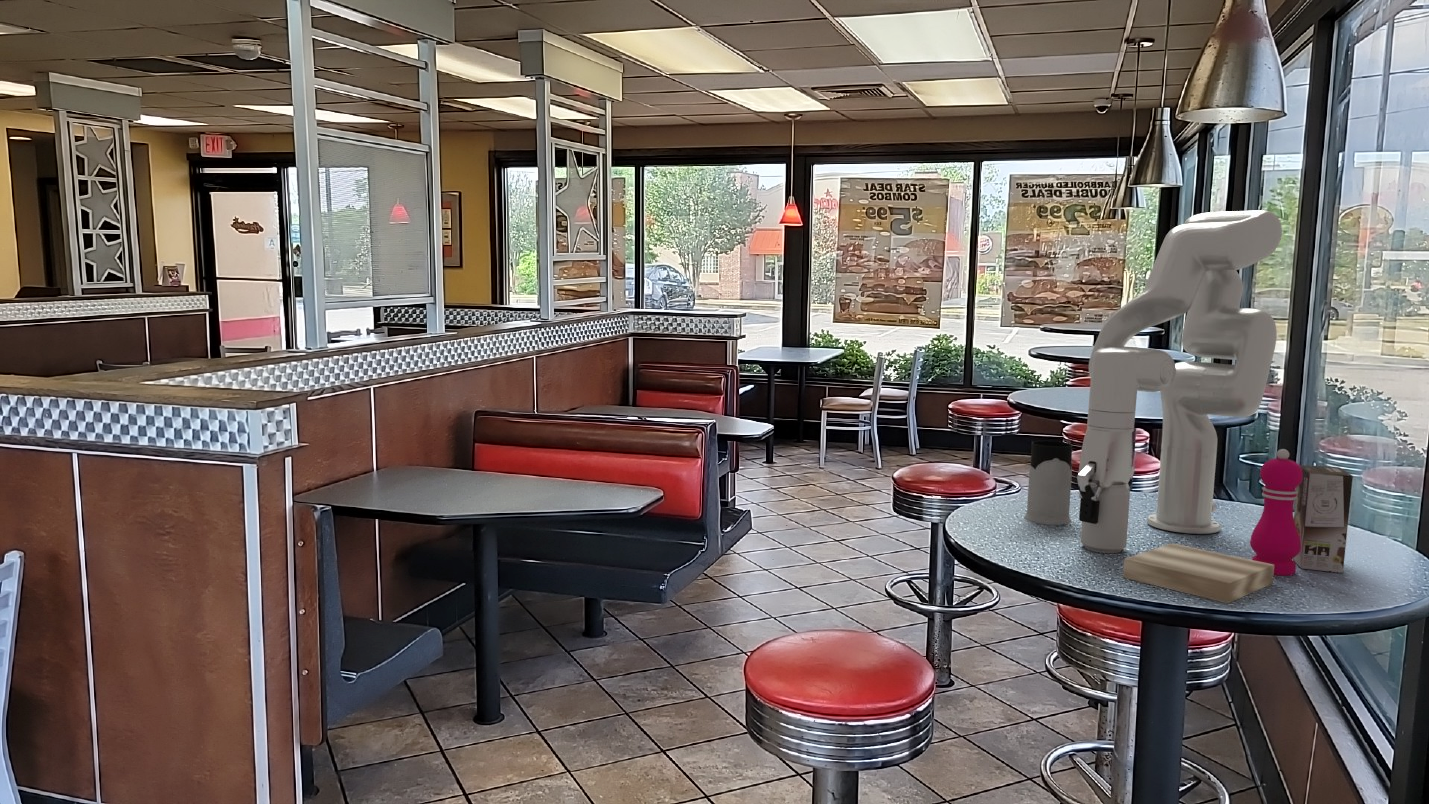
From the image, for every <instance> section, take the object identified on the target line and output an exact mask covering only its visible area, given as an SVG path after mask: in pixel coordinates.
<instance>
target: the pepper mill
mask: <svg viewBox="0 0 1429 804" xmlns="http://www.w3.org/2000/svg"><path fill="white" fill-rule="evenodd" d="M1276 456H1277V457H1275V458H1271V459H1268V460H1267V461H1265V462H1264V463H1263V464H1262V465H1261V468H1260V471H1259V477H1260V480H1261V481H1262V483H1263V484H1264V486H1263V487H1262V488H1261V489H1262V493H1261V495H1262V497H1264V505H1263V511H1262V514H1261V516H1260V518H1259V520H1258V521H1257V523H1256V525H1255V527H1254V529H1253V530H1252V532H1251V536H1250V540H1249V546H1250V547H1251V549H1252V550H1253V552H1254V553H1255V555H1253V556H1252V557H1251V560H1254V561H1259V562H1264V563H1269V564H1273V565H1274V575H1273V576H1284V577H1285V576H1288V577H1289V576H1292V575H1295V573H1296V566H1297V563H1296V562H1295V560H1294V559H1293V558H1294V557H1295V556H1296V555H1298V554H1299V552H1300V550H1301V541H1300V536H1299V533H1298V531H1297V528H1296V526H1295V523H1294V505H1295V500H1296V499H1297V493H1298V491H1297V490H1296V487H1297V486H1298V485H1299V484H1300V483H1301V482H1302V479H1303V472H1302V469H1301V467H1300V466H1299V465H1300V464H1298V463H1297V462H1296V461H1294V460H1292V459H1289V457H1290V452H1289V451H1288V450H1287V449H1285V448H1281V449H1279V450H1277V452H1276Z"/></svg>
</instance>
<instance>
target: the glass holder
mask: <svg viewBox="0 0 1429 804" xmlns="http://www.w3.org/2000/svg"><path fill="white" fill-rule="evenodd" d="M1072 456H1073V444H1072V443H1069V442H1064V441H1056V440H1036V441H1032V442H1031V452H1030V465H1029V468H1028V472H1029V474H1028V485H1027V486H1028V488H1027V489H1028V490H1027V491H1028V492H1027V502H1026V503H1027V505H1026V506H1027V507H1026V512H1025V515H1024V519H1025V520H1026V521H1028V522H1031V523H1035V524H1041V525H1049V526H1050V525H1052V526H1059V525H1060V526H1061V525H1062V524H1064V525H1069V524H1071V523H1072V519H1071V517H1070V507H1071V506H1070V505H1071V490H1072V477H1073V476H1072V475H1073V473H1072V471H1073V467H1072V460H1073V459H1072V458H1073V457H1072ZM1070 522H1071V523H1070ZM1068 523H1069V524H1068Z"/></svg>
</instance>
